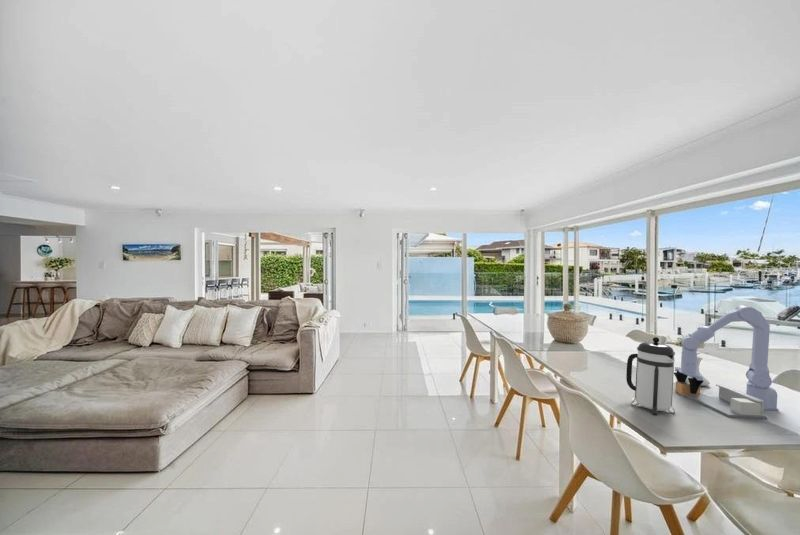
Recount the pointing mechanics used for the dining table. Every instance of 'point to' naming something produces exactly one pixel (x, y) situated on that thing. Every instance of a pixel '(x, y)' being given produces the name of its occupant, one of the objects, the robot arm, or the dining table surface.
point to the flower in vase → (705, 381)
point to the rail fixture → (733, 403)
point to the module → (685, 388)
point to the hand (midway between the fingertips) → (687, 390)
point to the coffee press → (653, 376)
